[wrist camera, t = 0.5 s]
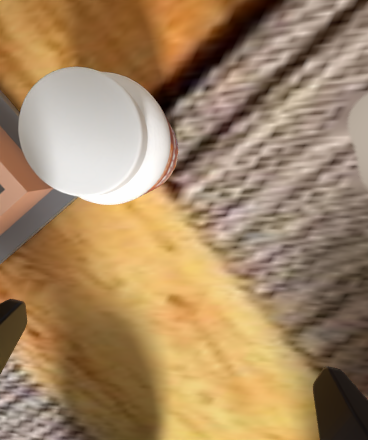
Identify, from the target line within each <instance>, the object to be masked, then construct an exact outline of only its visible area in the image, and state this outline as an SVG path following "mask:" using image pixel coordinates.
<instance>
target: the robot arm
mask: <svg viewBox="0 0 368 440" xmlns="http://www.w3.org/2000/svg"><path fill="white" fill-rule="evenodd" d="M26 324H27V315H26V305H25V303H24V302H23V301H19V300H14V299H9V300H6V301H4V302H3V303H1V304H0V374H1V372H2V370H3V368H4V367H5V365H6V363H7V361H8V359H9V357H10V355H11V354H12V352H13V350H14V348H15V346H16V344H17V342H18V341H19V339H20V337H21V335H22V333H23V331H24V330H25V327H26ZM313 394H314V401H315V408H316V416H317V423H318V430H319V437H320V440H368V400H367V399H366V397H365V396H364V395H363V394H362V393H361V392H360V391H359V389H358V388H357V387H356V386H355V385H354V384H353V383H352V382H351V380H350V379H349V378H348V377H347V376H346V375H345V374H344V373H343V372H342V371H341V370H340V369H337V368H332V367H325V368H324V369H323V370H322V371H321V373H320V374H319V376H318V377H317V379H316V380H315V382H314V384H313Z"/></svg>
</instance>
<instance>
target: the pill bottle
mask: <svg viewBox="0 0 368 440" xmlns="http://www.w3.org/2000/svg"><path fill="white" fill-rule="evenodd" d="M18 133H19V140H20V144H21V148H22V151H23V153H24V156H25V158H26V160H27V162H28V164H29V165H30V167H31V168H32V170H33V171H34V172H35V173H36V175H37V176H39V178H40V179H42V180H43V181H44V182H45V183H46V184H48V185H49V186H51V187H52V188H54V189H56V190H58V191H60V192H62V193H66V194H69V195H73V196H78V197H80V198H82V199H84V200H86V201H89V202H93V203H97V204H105V205H113V204H121V203H125V202H128V201H131V200H134V199H136V198H138V197H140V196H142V195H144V194H146V193H148V192H150V191H152V190H154V189H156V188H157V187H159V186H160V185H162V184H163V183H164V182H165V181H166V180H167V179H168V178H169V177H170V175H171V174H172V172H173V170H174V168H175V166H176V163H177V158H178V144H177V139H176V136H175V133H174V131H173V129H172V127H171V125H170V124H169V122H168V120H167V118H166V116H165V114H164V112H163V110H162V109H161V107H160V106H159V104H158V103H157V101H156V100H155V99H154V98H153V96H152V95H151V94H150V93H149V92H148V91H147V90H146V89H145V88H144V87H142V86H141V85H140V84H138V83H137V82H135V81H133V80H131V79H130V78H128V77H125V76H122V75H119V74H115V73H109V72H100V71H97V70H94V69H90V68H85V67H68V68H62V69H59V70H56V71H53V72H51V73H50V74H48V75H46V76H44V77H43V78H42V79H40V80H39V81H38V82H37V83H36V84H35V85H34V86H33V87H32V88H31V90H30V91H29V92H28V94H27V96H26V98H25V99H24V102H23V104H22V107H21V111H20V115H19V123H18Z"/></svg>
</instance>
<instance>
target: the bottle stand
mask: <svg viewBox="0 0 368 440" xmlns="http://www.w3.org/2000/svg"><path fill="white" fill-rule="evenodd" d="M19 115H20V112H19V111H18V110H17V109H16V107H15V106H14V105H13V104H12V103H11V102H10V101H9V99H8V98H7V97H6V96H5V95H4V94H3V92H2V91H1V90H0V264H1V263H2V262H4V261H5V260H6V259H7V258H8V257H9V256H11V255H12V254H13V253H14V252H15V251H16V250H17V249H19V248H20V247H21V246H22V245H23V244H24V243H26V242H27V241H28V240H29V239H30V238H31V237H33V236H34V235H35V234H36V233H37V232H38V231H39V230H41V229H42V228H43V227H44V226H45V225H46V224H48V223H49V222H50V221H51V220H52V219H53V218H55V217H56V216H57V215H58V214H59V213H60V212H61V211H63V210H64V209H65V208H66V207H67V206H68V205H70V204H71V203H72V202H73V201H74V200H75V199H77V198H78V196H73V195H69V194H66V193H62V192H60V191H58V190H56V189H54V188H52V187H51V186H49V185H48V184H46V183H45V182H44V181H43V180H42V179H40V178H39V176H37V175H36V173H35V172H34V171H33V170H32V168H31V167H30V165H29V164H28V162H27V160H26V158H25V156H24V153H23V151H22V148H21V144H20V140H19V133H18V123H19Z"/></svg>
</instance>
